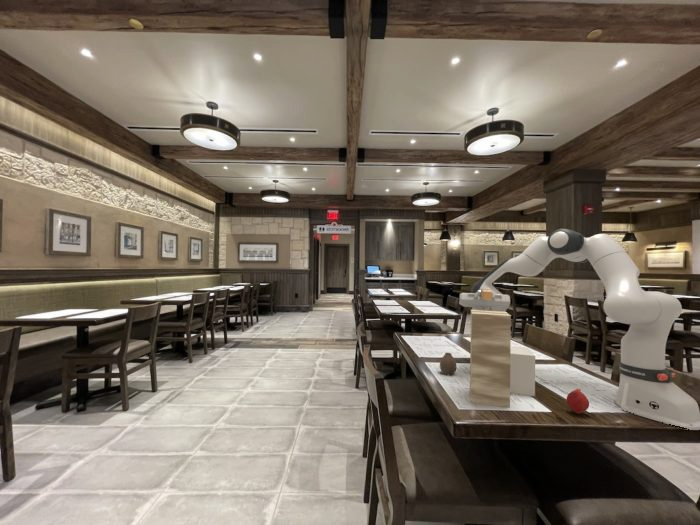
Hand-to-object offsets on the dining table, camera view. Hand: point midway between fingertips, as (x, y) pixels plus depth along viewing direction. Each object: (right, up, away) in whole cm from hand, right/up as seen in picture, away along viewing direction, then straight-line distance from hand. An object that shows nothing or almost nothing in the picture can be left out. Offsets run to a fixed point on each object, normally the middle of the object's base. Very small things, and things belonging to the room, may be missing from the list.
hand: (485, 292), depth 135 cm
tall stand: (-8, -35, -21) cm, 42 cm away
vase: (-14, -36, +6) cm, 39 cm away
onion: (+16, -36, -32) cm, 51 cm away
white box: (+7, -36, -11) cm, 38 cm away
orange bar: (-2, -2, -5) cm, 6 cm away
